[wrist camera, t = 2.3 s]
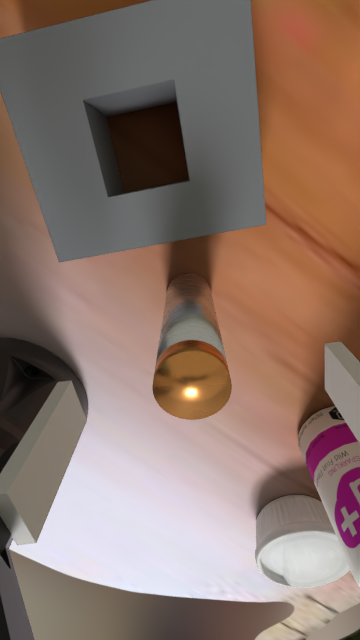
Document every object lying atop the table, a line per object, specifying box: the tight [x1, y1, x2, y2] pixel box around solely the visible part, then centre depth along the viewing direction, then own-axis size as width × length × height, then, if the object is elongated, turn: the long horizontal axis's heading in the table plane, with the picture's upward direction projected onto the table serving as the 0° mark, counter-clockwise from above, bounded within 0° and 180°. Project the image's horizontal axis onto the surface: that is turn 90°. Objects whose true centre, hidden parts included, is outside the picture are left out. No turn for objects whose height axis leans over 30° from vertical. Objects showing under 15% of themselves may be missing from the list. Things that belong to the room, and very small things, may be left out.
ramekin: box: [255, 495, 350, 588], centre depth 39 cm, size 11×11×5 cm
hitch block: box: [0, 0, 266, 262], centre depth 22 cm, size 14×12×6 cm
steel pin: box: [153, 273, 232, 420], centre depth 23 cm, size 4×4×14 cm
